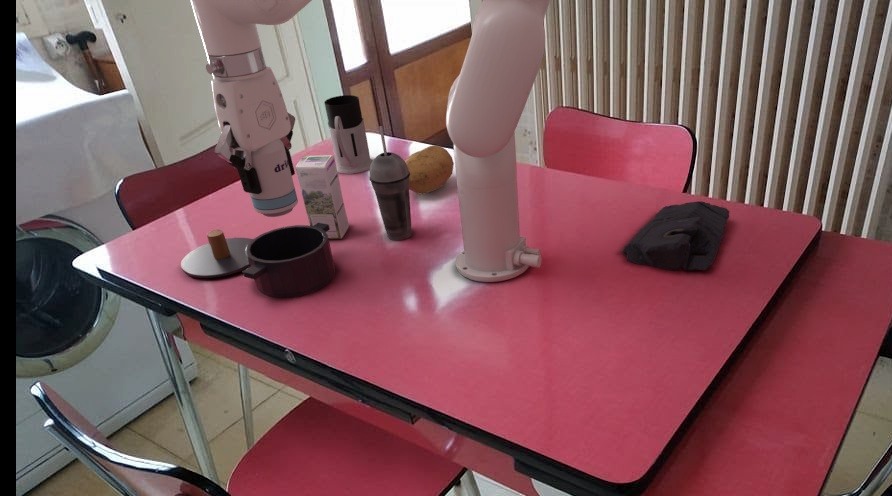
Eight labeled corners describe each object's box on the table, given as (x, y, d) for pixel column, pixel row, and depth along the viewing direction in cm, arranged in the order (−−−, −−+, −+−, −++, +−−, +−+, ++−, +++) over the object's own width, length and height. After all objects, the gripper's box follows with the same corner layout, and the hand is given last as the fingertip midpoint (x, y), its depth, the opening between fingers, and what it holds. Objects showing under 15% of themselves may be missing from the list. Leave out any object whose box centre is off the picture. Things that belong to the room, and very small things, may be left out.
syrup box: (350, 226, 134) (334, 153, 125) (341, 240, 129) (325, 165, 120) (321, 226, 134) (304, 154, 126) (312, 240, 130) (293, 166, 121)
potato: (390, 199, 143) (384, 162, 138) (427, 175, 152) (423, 139, 148) (429, 206, 138) (424, 168, 134) (465, 180, 148) (461, 144, 143)
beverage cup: (382, 246, 126) (362, 138, 114) (377, 230, 131) (358, 125, 119) (422, 239, 127) (406, 131, 115) (415, 223, 133) (399, 118, 121)
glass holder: (375, 158, 163) (364, 93, 154) (367, 181, 152) (354, 112, 143) (338, 160, 163) (325, 95, 154) (328, 184, 152) (312, 115, 143)
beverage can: (290, 219, 108) (270, 143, 101) (249, 220, 109) (226, 145, 102) (305, 201, 113) (287, 128, 106) (265, 201, 114) (245, 129, 107)
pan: (360, 259, 122) (353, 225, 118) (289, 312, 109) (279, 276, 105) (302, 247, 128) (293, 214, 124) (228, 297, 115) (216, 261, 111)
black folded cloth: (742, 222, 124) (746, 197, 121) (705, 278, 109) (709, 251, 106) (660, 209, 130) (662, 185, 128) (615, 260, 116) (616, 234, 113)
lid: (281, 249, 127) (273, 222, 124) (224, 287, 117) (213, 258, 114) (224, 237, 133) (215, 211, 130) (165, 272, 123) (154, 244, 120)
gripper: (211, 81, 90) (249, 208, 101) (298, 50, 102) (324, 166, 113) (171, 78, 93) (212, 201, 104) (260, 47, 105) (289, 161, 116)
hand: (270, 182), depth 108 cm, fingers closed on beverage can, 7 cm apart
